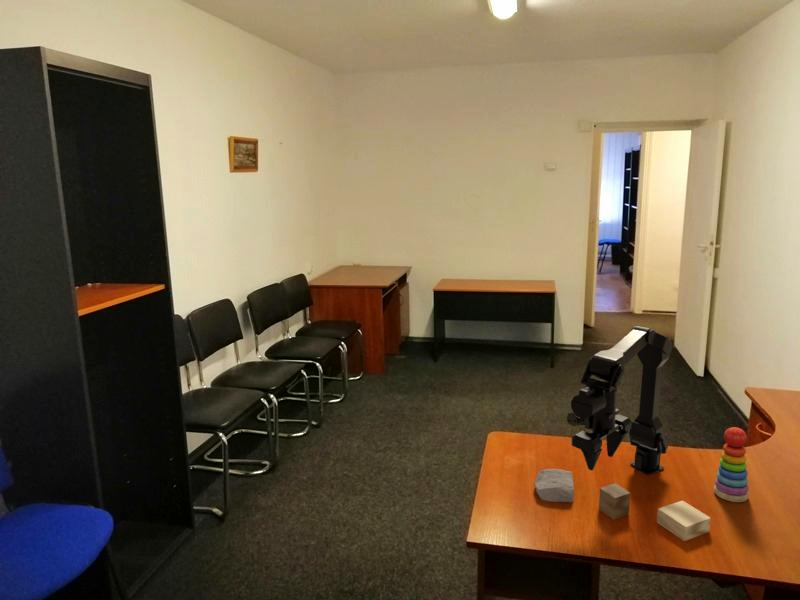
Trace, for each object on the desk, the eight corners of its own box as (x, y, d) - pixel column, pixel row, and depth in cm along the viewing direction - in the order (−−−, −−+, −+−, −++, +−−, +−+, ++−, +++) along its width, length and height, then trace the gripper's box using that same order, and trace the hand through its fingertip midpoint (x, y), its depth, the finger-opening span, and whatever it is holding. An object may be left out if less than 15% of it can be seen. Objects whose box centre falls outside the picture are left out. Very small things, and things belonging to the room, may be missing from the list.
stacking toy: (746, 490, 154) (754, 424, 149) (749, 506, 147) (758, 438, 142) (712, 484, 157) (719, 419, 152) (714, 500, 150) (721, 433, 145)
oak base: (681, 514, 145) (682, 500, 144) (709, 532, 137) (710, 518, 137) (656, 523, 142) (658, 508, 141) (684, 542, 134) (685, 527, 133)
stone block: (537, 507, 152) (577, 503, 150) (534, 490, 152) (574, 486, 149) (537, 484, 164) (573, 480, 161) (533, 468, 163) (570, 464, 161)
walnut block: (613, 504, 149) (615, 483, 148) (628, 514, 145) (630, 492, 144) (598, 509, 147) (599, 488, 146) (613, 520, 143) (614, 498, 142)
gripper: (594, 385, 154) (591, 439, 158) (553, 407, 143) (551, 464, 146) (634, 397, 146) (630, 454, 150) (594, 421, 134) (591, 482, 138)
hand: (600, 462), depth 146 cm, fingers open, 9 cm apart
